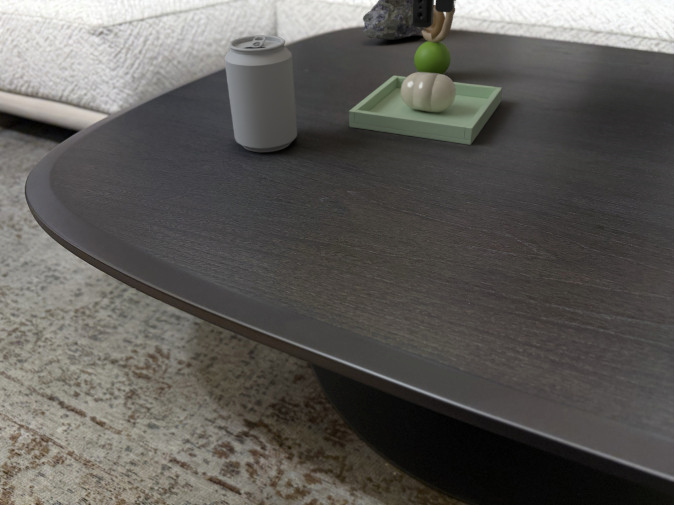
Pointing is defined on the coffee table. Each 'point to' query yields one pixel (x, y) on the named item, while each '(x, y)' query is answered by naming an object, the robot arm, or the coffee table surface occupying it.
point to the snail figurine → (435, 45)
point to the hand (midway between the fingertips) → (434, 18)
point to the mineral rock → (391, 20)
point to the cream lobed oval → (428, 91)
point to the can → (261, 92)
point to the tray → (427, 113)
